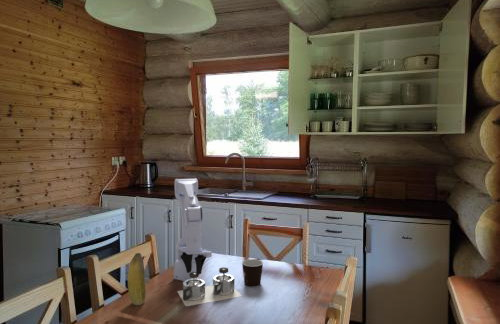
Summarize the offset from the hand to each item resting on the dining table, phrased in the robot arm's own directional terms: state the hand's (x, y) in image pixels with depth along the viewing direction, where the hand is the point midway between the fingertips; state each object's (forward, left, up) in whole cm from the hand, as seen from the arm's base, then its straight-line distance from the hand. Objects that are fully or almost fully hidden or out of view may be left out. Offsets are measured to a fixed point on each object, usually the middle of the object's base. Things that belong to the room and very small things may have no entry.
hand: (193, 273), depth 145 cm
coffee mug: (+15, +22, -10) cm, 29 cm away
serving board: (+4, +4, -10) cm, 12 cm away
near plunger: (0, 0, -5) cm, 5 cm away
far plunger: (+8, +9, -5) cm, 13 cm away
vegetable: (-16, -14, -10) cm, 24 cm away
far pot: (+8, +8, -9) cm, 14 cm away
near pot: (0, -1, -9) cm, 9 cm away
